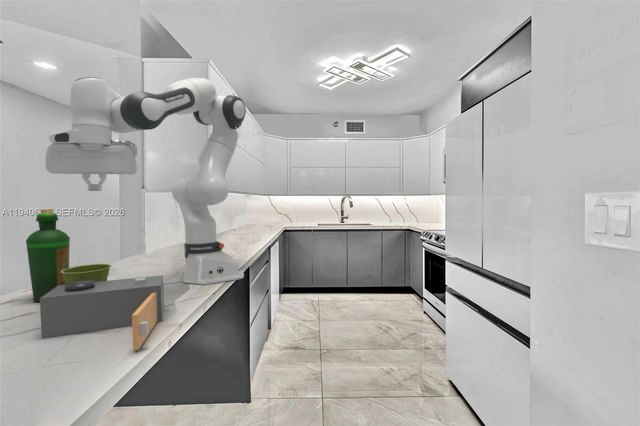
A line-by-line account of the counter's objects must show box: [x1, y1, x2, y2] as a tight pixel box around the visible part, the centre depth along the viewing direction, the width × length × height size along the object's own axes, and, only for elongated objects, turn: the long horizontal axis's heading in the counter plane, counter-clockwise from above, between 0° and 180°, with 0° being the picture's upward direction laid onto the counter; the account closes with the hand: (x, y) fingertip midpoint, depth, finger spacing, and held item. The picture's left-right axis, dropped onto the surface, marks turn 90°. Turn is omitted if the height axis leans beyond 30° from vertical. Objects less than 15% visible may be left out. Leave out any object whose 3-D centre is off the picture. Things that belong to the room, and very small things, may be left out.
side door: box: [131, 292, 158, 351], centre depth 73 cm, size 17×2×7 cm, turn 15°
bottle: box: [25, 208, 71, 303], centre depth 103 cm, size 11×11×28 cm
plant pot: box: [61, 263, 112, 284], centre depth 94 cm, size 12×12×11 cm
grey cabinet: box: [39, 275, 165, 339], centre depth 83 cm, size 24×12×10 cm, turn 113°
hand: (95, 190), depth 89 cm, fingers closed
